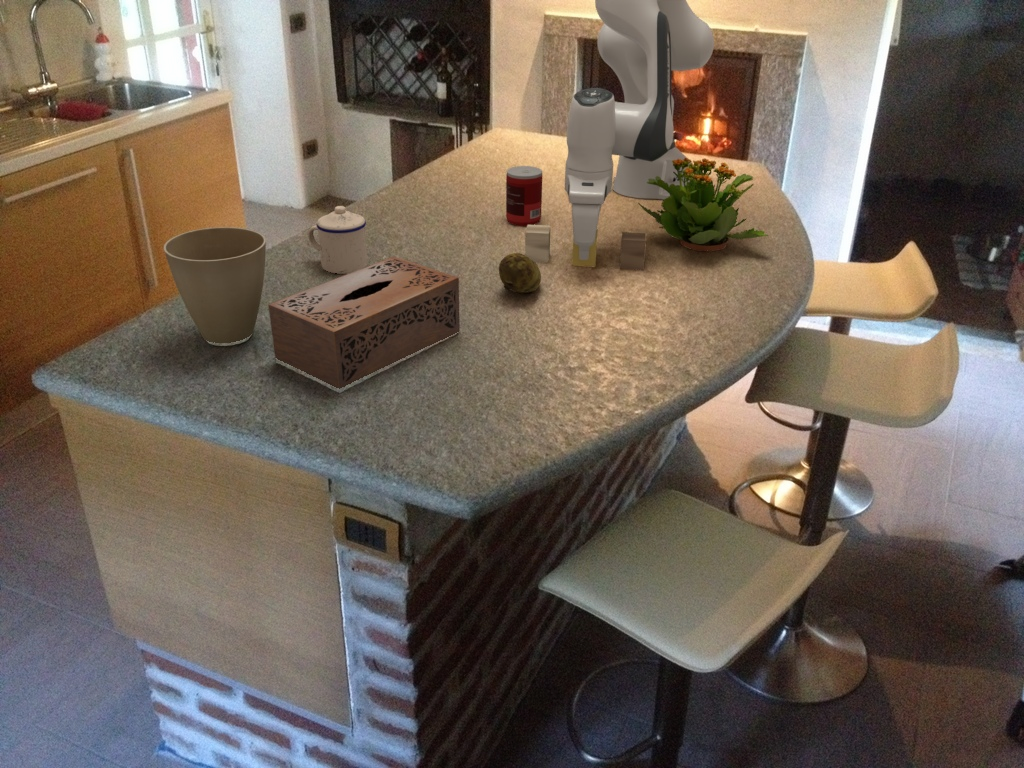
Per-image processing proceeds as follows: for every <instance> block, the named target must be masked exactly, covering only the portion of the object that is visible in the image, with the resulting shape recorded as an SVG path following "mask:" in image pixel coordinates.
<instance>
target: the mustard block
mask: <svg viewBox="0 0 1024 768" xmlns="http://www.w3.org/2000/svg"><path fill="white" fill-rule="evenodd" d="M598 233H599V230H598V228H597V231H596V237H595V241H594V244H593V245H591V246H590V248H589V258H588V259H587V260H581V259H579V245H576V244H575V243H574V237H572V257H571V266H572V265H573V267H574V266H576V267H591V266H593V268H596V263H597V248H598V246H597V245H598Z"/></svg>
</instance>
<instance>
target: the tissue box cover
mask: <svg viewBox="0 0 1024 768" xmlns="http://www.w3.org/2000/svg"><path fill="white" fill-rule="evenodd" d="M459 279H460V278H459V277H457V276H454V275H451V274H448V273H445V272H442V271H439V270H435V269H433V268H430V267H427V266H424V265H421V264H418V263H415V262H412V261H410V260H406V259H403V258H400V257H397V256H394V255H393V256H391V257H389V258H385V259H384V260H381V261H378V262H376V263H373V264H371V265H367V266H366V267H365V268H362V269H360V270H357V271H354V272H352V273H349V274H343V275H342V276H339V277H336V278H333V279H331V280H329V281H328V280H327V281H325V282H323V283H321V284H319V285H316V286H313V287H310V288H308V289H305V290H302V291H300V292H297V293H295V294H292V295H289V296H287V297H283V298H282V299H279V300H277V301H276V300H275V301H273V302H271V303H269V304H268V310H269V311H268V312H269V321H270V327H271V335H272V342H273V343H272V344H273V350H274V352H273V353H274V359H275V358H277V359H278V360H280V361H283V362H284V363H287V364H289V365H291V366H293V367H295V368H297V369H300V370H301V371H304V372H306V373H307V374H309V375H312V376H313V377H316V378H318V379H320V380H322V381H324V382H326V383H328V384H330V385H332V386H334V387H336V388H339V389H340V388H342V387H345V386H346V385H348V384H351V383H352V382H354V381H356V380H359V379H360V378H363V377H364V376H367V375H369V374H371V373H373V372H375V371H377V370H379V369H381V368H384V367H385V366H388V365H390V364H392V363H394V362H396V361H398V360H400V359H402V358H405V357H406V356H408V355H411V354H413V353H415V352H417V351H419V350H421V349H423V348H425V347H427V346H430V345H432V344H434V343H436V342H438V341H440V340H443V339H445V338H447V337H449V336H451V335H453V334H455V333H457V332H459V331H460V328H461V327H460V326H461V325H460V284H459V283H460V282H459V281H460V280H459ZM460 332H461V331H460Z"/></svg>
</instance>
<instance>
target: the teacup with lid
mask: <svg viewBox="0 0 1024 768" xmlns="http://www.w3.org/2000/svg"><path fill="white" fill-rule="evenodd" d="M316 222H317V223H316V224H315V225H313V226H310V228H309V229H308V230H307V231H308V232H307V237H308V241H309V243H310V244H311V246H312V247H313V248H314V249H315V250H317V251H319V252H320V262H321V263H320V264H321V268H322V269H323V270H324V271H325V270H326V271H325V272H327V271H328V272H327V273H330V272H331V273H330V274H335V273H337V274H336V275H347V273H352V272H354V271H357V270H360V269H362V268H365V267H368V252H367V251H368V250H367V239H366V238H367V237H366V236H367V235H366V225H367V221H366V219H365V218H364V217H363V216H362V215H360V214H358V213H353V212H351V211H349V210H346V207H345V206H343V205H337V206H335V207H334V211H332V212H330V213H329V214H326V215H322V216H320V217H319V218H318V220H317V221H316ZM315 231H318V242H317V240H316V239H315V236H314V232H315Z"/></svg>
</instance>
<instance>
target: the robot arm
mask: <svg viewBox="0 0 1024 768" xmlns="http://www.w3.org/2000/svg"><path fill="white" fill-rule="evenodd" d="M594 3H595V10H596V12H597V15H598V17H599V18H600V20H601V21H602V23H603V25H602V26H601V27H600V30H599V32H598V35H597V41H596V42H597V51H598V52H599V53H598V54H599V55H600V58H601V59H602V60H603V62H604V63H605V64H607V65H608V66H609V67H610V68H611V70H612V71H613V72H614V73H615V75H616V76H617V78H618V80H619V82H620V85H621V88H622V92H623V95H624V96H623V97H624V102H619V101H615V96H614V94H613V92H611V91H609V90H608V89H605V88H600V87H589V88H586V89H580V90H579V91H577V92H576V93H574V94H573V96H572V98H571V101H570V106H569V112H568V118H567V119H568V120H567V127H566V128H567V129H566V145H567V151H568V152H567V157H566V160H565V169H564V170H565V171H564V190H565V192H566V194H567V196H568V197H567V198H568V202H569V204H571V219H572V221H571V222H572V234H573V237H574V243H575V244H576V245H579V259H581V260H587V259H588V258H589V248H590V246H591V245H593V244H594V241H595V237H596V231H597V229H598V225H599V218H600V213H601V210H602V206H603V205H604V204H605V201H606V199H607V197H608V196H609V194H611V193H612V192H613V191H614V192H615V193H616V194H619V195H621V196H625V197H628V198H629V197H630V198H636V199H649V200H650V199H656V200H657V199H659V200H664V199H666V198H668V197H669V196H670V193H668V192H667V191H666V190H664V189H663V188H661V187H659V186H657V185H653V184H648V183H647V182H649V180H648V179H655V178H656V176H659V177H660V178H661V180H663V181H665V183H668V185H669V186H670V185H671V184H674V185H675V186H676V185H680V181H679V178H678V177H677V176H676V175H675V174H674V173H673V172H675V173H676V174H677V175H678V172H677V170H676V169H674V166H673V162H672V160H677V159H681V160H682V161H683V159H684V157H686V158H688V157H687V156H686V155H685V154H684V153H683V152H682V151H681V150H680V149H678V147H676V146H677V145H676V141H679V142H681V141H683V139H684V132H682V131H678V130H676V131H675V130H674V122H673V121H674V119H673V118H674V108H675V107H674V106H675V100H674V97H673V94H672V71H675V72H685V71H693V70H697V69H702V68H703V67H704V66H706V64H707V63H708V61H709V60H710V58H711V57H712V54H713V52H714V48H715V47H714V46H715V39H714V33H713V31H712V29H711V27H710V26H709V24H708V23H707V22H705V21H704V20H702V19H701V18H700V17H699V16H697V15H696V14H695V12H694V11H693V9H692V8H691V7H690V5H689V3H688V1H687V0H595V1H594ZM613 156H619V157H618V163H617V168H616V173H615V177H613V175H614V161H613ZM690 163H691V162H690ZM690 163H689V164H690ZM689 164H688V166H689ZM686 168H687V167H685V168H684V169H683V170H685V169H686ZM681 170H682V167H681V168H680V170H679V171H680V172H681ZM682 174H683V173H682ZM692 179H693V178H692ZM655 180H656V179H655ZM683 181H684V177H683ZM683 181H682V180H681V183H682V186H683V187H684V183H683ZM685 181H686V179H685ZM688 182H690V180H688ZM685 185H686V186H687V181H686V182H685ZM573 237H572V238H573Z"/></svg>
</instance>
